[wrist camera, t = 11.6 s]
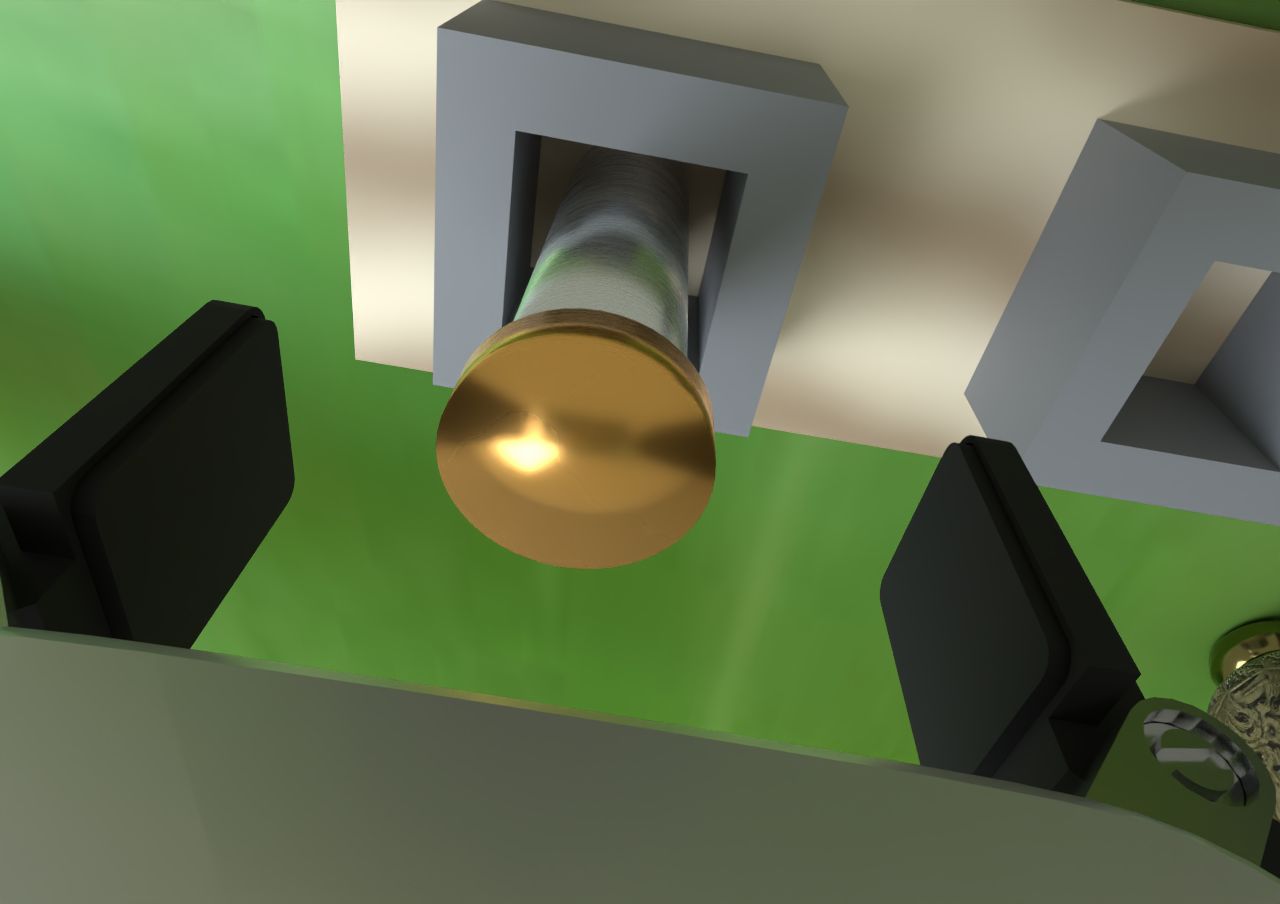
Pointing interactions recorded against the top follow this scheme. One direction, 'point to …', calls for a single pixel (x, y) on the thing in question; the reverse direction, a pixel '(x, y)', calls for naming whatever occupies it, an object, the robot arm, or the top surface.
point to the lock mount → (1144, 330)
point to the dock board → (850, 179)
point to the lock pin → (590, 383)
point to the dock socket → (635, 122)
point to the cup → (1250, 691)
